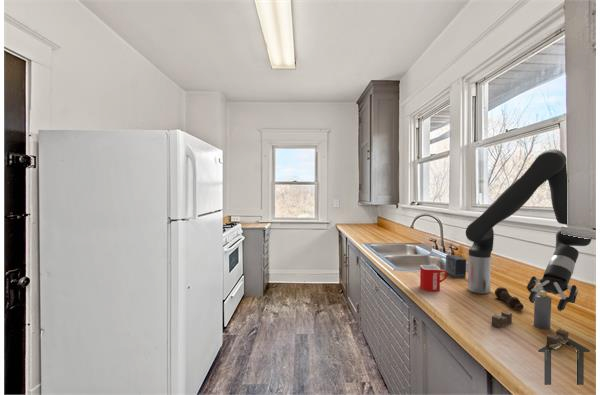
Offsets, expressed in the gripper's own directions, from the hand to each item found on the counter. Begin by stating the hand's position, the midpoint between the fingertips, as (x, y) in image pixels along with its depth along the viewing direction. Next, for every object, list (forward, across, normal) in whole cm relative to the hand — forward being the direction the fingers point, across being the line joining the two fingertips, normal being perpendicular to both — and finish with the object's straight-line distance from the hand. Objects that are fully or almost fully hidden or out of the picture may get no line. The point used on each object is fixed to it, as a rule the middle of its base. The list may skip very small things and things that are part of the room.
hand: (544, 305), depth 113 cm
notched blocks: (+14, 0, -3) cm, 14 cm away
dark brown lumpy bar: (-2, -17, +14) cm, 22 cm away
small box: (-16, -54, +26) cm, 62 cm away
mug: (+5, -46, +5) cm, 47 cm away
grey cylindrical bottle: (+6, 0, +5) cm, 8 cm away
